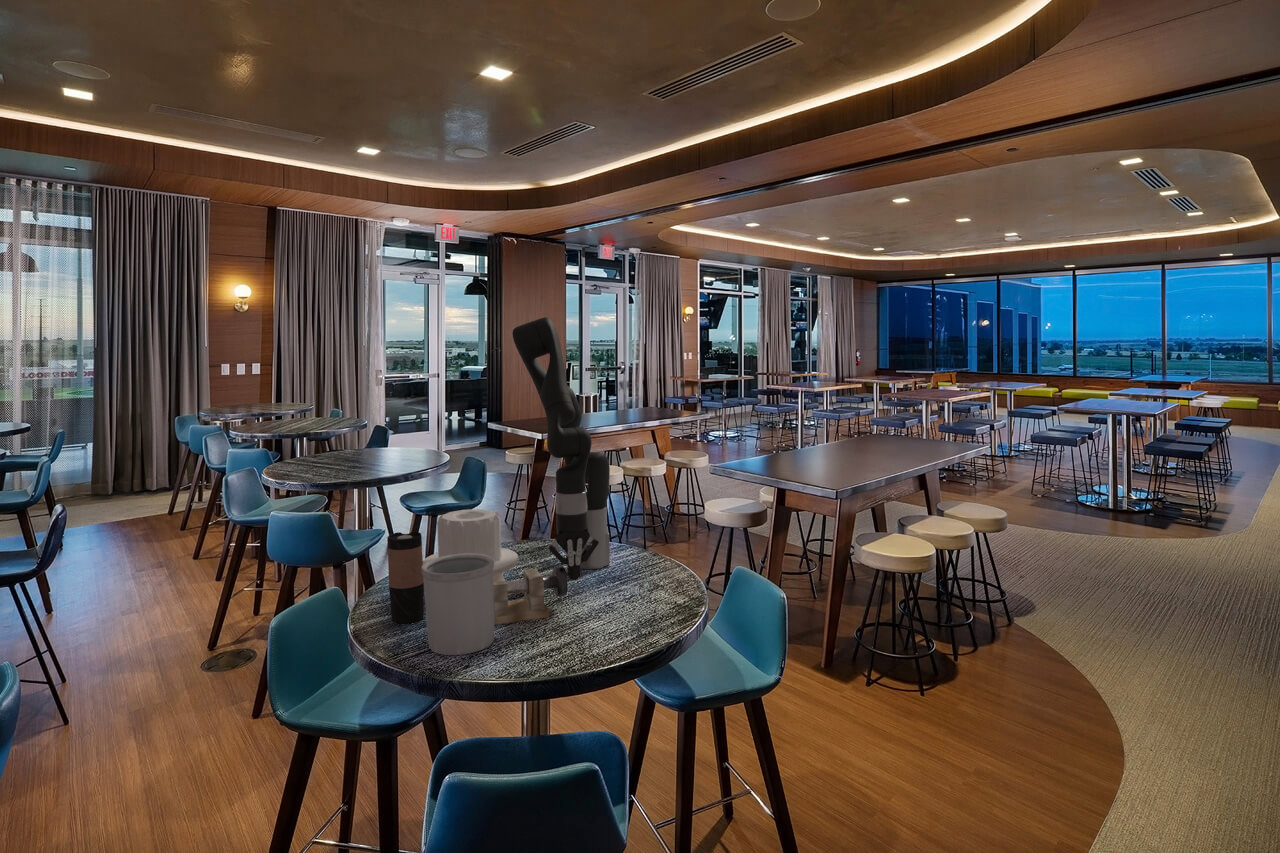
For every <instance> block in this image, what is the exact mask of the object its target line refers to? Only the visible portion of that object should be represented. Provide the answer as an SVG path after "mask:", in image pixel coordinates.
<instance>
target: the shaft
mask: <svg viewBox="0 0 1280 853" xmlns="http://www.w3.org/2000/svg"><path fill="white" fill-rule="evenodd" d="M542 578H543V579H544V591H546V590H552V589H553V592H554V595H555V597H559V598H560V597H563V596H564V597H565V596H567V594H568V587H569V586H568V584H569V583H568V574H567V572H566V569H565V567H564V566H563V565H562V566H554V567H553V569H552V574H551V575H550V576H542ZM506 582H507V593H508V595H515V594H521V593H523V594H524V592H529V579H524V578H523V579H518V580H517V579H516V580H510V581H508V580H507V581H506Z"/></svg>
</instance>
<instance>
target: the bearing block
mask: <svg viewBox="0 0 1280 853" xmlns="http://www.w3.org/2000/svg"><path fill="white" fill-rule="evenodd" d="M542 577H543V576H542V575H541V574H540V572H539V571H538V569H537V568H531V569H529V568H528V569H523V580H524V579H529V592H523V594H524V595H523V597H524V598H521V599H514V600H509V599H508V595H509V594H508V593H507V581H506V579H505V578H504V575H503V574H502V573H495V574H493V591H494V626H496V625H501V624H510V623H517V622H522V621H523V622H524V621H528V620H529V621H530V620H536V619H537V620H538V619H544V618H550V609H549V608H548V607H547V605H546V604H545V590H544V579H543V578H542Z"/></svg>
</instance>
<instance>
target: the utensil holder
mask: <svg viewBox="0 0 1280 853" xmlns="http://www.w3.org/2000/svg"><path fill="white" fill-rule="evenodd" d="M493 567H494V561H493V559H492V558H491V557H490V556H487V555H484V554H475V553H464V554H453V555H447V556H443V557H439V558H435V559H432V560H430V561H428V562H426V563H424V564H423V565H422V568H421V569H422V575H423V578H424V610H425V620H426V623H425V624H426V632H427V642H428V643H427V644H428V647H429V650H430V649H431V650H432V651H431V650H430V651H431V652H433V653H435V652H436V653H435V654H439V655H444V656H462V655H468V654H472V653H477V652H479V651H482V650H484V649H486V648H488V647H489V646H490V645H492V644H493V642H494V641H495V625H494V591H493Z"/></svg>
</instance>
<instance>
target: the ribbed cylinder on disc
mask: <svg viewBox="0 0 1280 853" xmlns="http://www.w3.org/2000/svg"><path fill="white" fill-rule="evenodd" d="M501 522H502V521H501V515H500V513H498V512H497V511H492V510H491V509H478V508H475V509H474V508H473V509H470V508H469V509H461V510H454V511H449V512H446V513H445V514H440V516H439V517H438V520H437V523H436V526H437V528H436V529H437V551H438V552H436V553H434V554H431V555H429V556H427V557H425V558H424V559H423V564H424V563H426V562H428V561H430V560H432V559H435V558H439V557H443V556H447V555H453V554H464V553H475V554H484V555H487V556H490V557H491V558H492V559H493V561H494V567H493V574H495V573H501V574H502V573H504V572H507V571H510V570H511V569H513V568H514V567H516V566H517V565H518V563H519V555H518V554H517V552H515V551H513V550H511V549H508V548H504V547H502V529H501V528H502V524H501Z"/></svg>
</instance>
